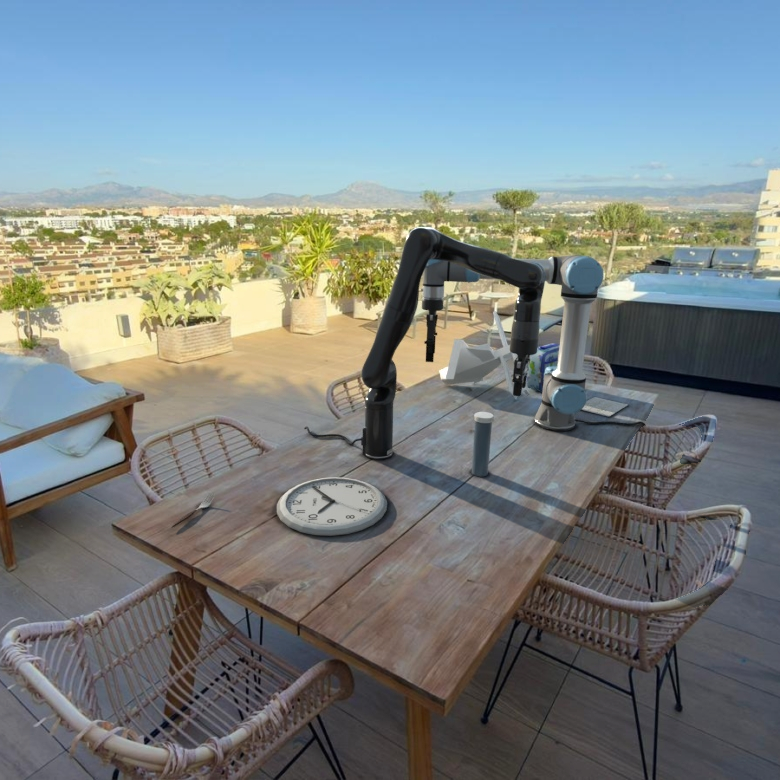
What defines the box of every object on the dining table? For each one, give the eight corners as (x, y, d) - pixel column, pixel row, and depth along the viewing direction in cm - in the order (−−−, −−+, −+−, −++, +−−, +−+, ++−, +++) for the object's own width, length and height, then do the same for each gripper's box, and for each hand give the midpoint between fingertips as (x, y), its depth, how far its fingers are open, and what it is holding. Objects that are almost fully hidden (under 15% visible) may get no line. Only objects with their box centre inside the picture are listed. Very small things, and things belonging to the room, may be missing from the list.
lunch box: (542, 395, 240) (547, 351, 233) (522, 390, 247) (526, 347, 241) (569, 384, 257) (575, 343, 251) (550, 380, 264) (554, 339, 258)
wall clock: (392, 527, 129) (268, 531, 127) (391, 533, 130) (269, 537, 127) (383, 473, 158) (282, 475, 155) (383, 478, 158) (282, 480, 156)
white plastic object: (461, 429, 252) (437, 405, 227) (444, 352, 274) (420, 323, 250) (535, 404, 240) (518, 377, 215) (510, 326, 262) (492, 293, 237)
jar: (483, 468, 166) (488, 413, 161) (490, 475, 162) (495, 418, 156) (469, 470, 165) (472, 414, 159) (475, 477, 160) (479, 419, 155)
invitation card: (608, 416, 214) (573, 407, 224) (608, 416, 214) (573, 408, 224) (628, 404, 229) (594, 396, 238) (628, 405, 229) (594, 397, 238)
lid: (488, 416, 161) (488, 411, 161) (496, 422, 156) (497, 417, 156) (471, 417, 160) (471, 412, 159) (478, 424, 155) (479, 419, 154)
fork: (167, 528, 130) (166, 521, 130) (209, 498, 145) (208, 492, 144) (175, 530, 130) (174, 523, 129) (216, 500, 144) (216, 494, 143)
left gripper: (515, 330, 153) (510, 383, 158) (506, 339, 140) (501, 396, 145) (541, 332, 150) (535, 386, 155) (535, 342, 138) (529, 400, 143)
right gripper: (424, 293, 195) (422, 349, 202) (419, 302, 172) (417, 365, 178) (444, 294, 195) (441, 350, 201) (442, 303, 171) (439, 366, 177)
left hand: (519, 391), depth 150 cm, fingers open, 8 cm apart
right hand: (430, 357), depth 190 cm, fingers open, 13 cm apart
